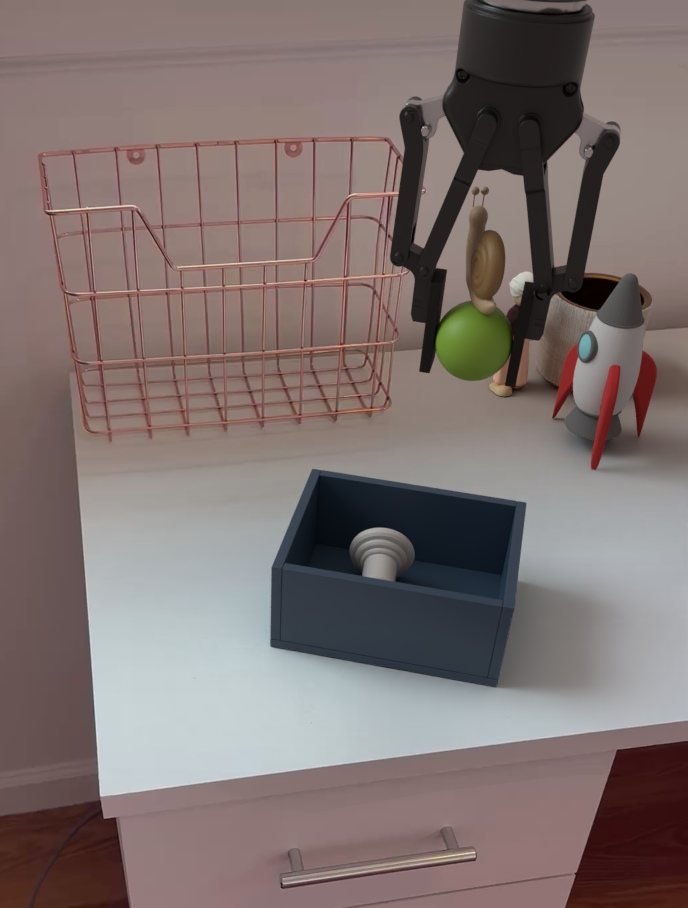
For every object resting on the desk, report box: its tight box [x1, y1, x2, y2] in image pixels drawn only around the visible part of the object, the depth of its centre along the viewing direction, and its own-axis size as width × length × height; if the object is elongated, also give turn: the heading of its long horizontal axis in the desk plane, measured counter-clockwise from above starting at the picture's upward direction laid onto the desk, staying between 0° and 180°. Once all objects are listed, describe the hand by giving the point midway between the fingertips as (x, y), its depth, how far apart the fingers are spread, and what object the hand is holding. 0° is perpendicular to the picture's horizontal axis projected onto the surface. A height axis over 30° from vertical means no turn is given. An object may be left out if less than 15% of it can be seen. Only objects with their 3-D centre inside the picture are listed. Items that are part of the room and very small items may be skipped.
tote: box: [269, 468, 527, 688], centre depth 81 cm, size 18×14×8 cm
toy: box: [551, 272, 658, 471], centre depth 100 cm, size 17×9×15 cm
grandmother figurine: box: [488, 270, 533, 397], centre depth 109 cm, size 8×4×13 cm, turn 150°
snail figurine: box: [435, 185, 513, 382], centre depth 70 cm, size 5×6×12 cm
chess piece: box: [349, 528, 415, 582], centre depth 81 cm, size 5×5×9 cm
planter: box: [535, 272, 654, 394], centre depth 112 cm, size 11×11×10 cm
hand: (469, 370), depth 74 cm, fingers closed on snail figurine, 5 cm apart
